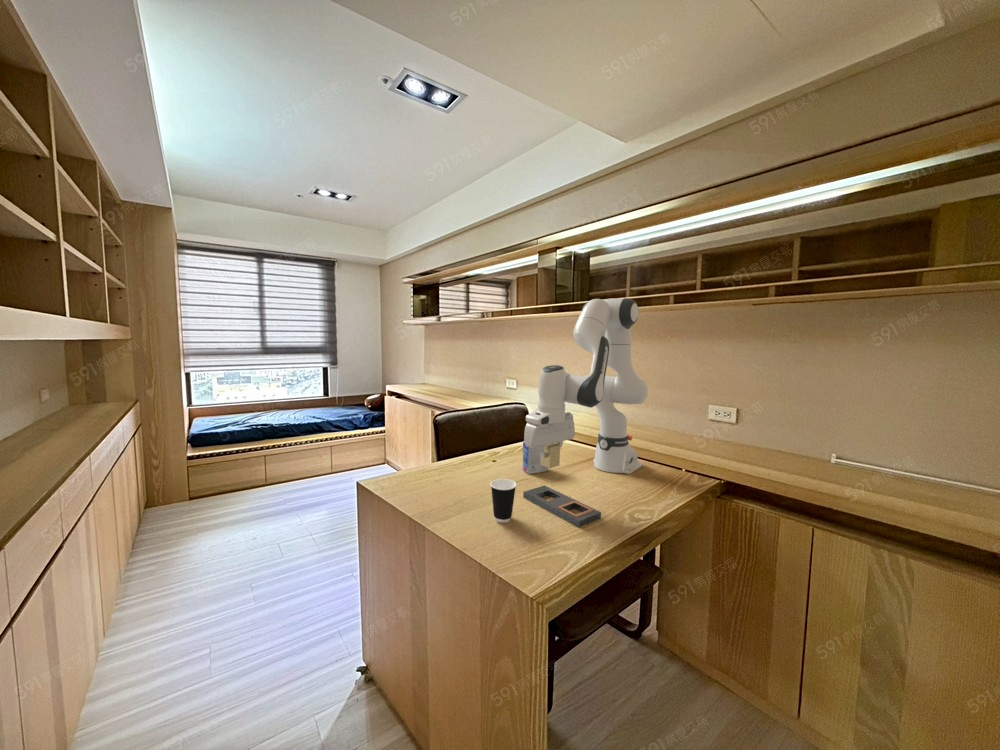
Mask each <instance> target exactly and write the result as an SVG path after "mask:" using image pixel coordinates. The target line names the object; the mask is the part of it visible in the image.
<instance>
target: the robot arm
mask: <svg viewBox="0 0 1000 750" xmlns="http://www.w3.org/2000/svg"><path fill="white" fill-rule="evenodd" d="M639 313H640V311H639V306H638V303H637V302H636V301H635V300H634V299H631V298H611V297H610V298H605V299H600V298H593V299H590V300H589V301H587V302H586V303H585V304H584V305H583V306H582V310H581V312H580V314H579V316H578V318H577V320H576V323H575V324H574V327H573V332H572V333H573V334H572V336H573V339H574V341H575V343H576V344H577V345H578V346H579V347H580V348H581V349H583V350H585V351H587V352H589V353H591V354H593V356H592V361H591V367H590V372H589V373H588V374H586V375H579V374H577V375H576V374H570V373H568V372H567V371H565V368H564V366H563V365H560V364H559V365H556V364H553V365H547V366H544V367H543V368H542V369H541V370H540V374H539V381H538V393H537V394H538V397H539V400H538V404H537V409H535V410H533V411H532V412H531V413H529V414H527V415H526V416H525V421H526V425H524V426H525V427H524V434H523V435H524V436H523V437H524V438H523V442H524V443H525V445H526V446H528V447H531V448H535V447H538V449H539V451H540V457H541V458H546V457H547V452H545V451H544V448H545V445H548V444H553V443H555V444H558V445H560V450H561V448H562V446H563V444H564V443H563V442H564V441H570V440H573V439H574V438H575V435H576V432H575V431H576V430H575V428H576V427H575V421H574V414H572V412H569V411H568V412H566V403H568V404H575V405H580V406H583V407H586V408H589V409H590V408H591V409H592V408H594V407H595V408H596V411H597V413H598V417H599V418H598V419H599V433H598V434H597V442H598V443H597V444H596V446H595V447H596V448H595V453H594V454H595V455H594V458H593V459H592V462H593V467H594V468H595V469H597V470H600V471H603V472H607V473H617V474H627V475H630V474H632V473H634V472H635V471H637V470H638V469H640V468H642V467H643V466H644V463H643V462H641V461H640V460H638V451H636V449H635V448H633V446H631V445H630V443H629V441H632V440H633V436H632V435H629V434H628V433H627V431H628V419H627V417H626V415H625V414H624V413H622V411H619V410H618V409H617V408H616V407H615V404H623V405H641V404H642V403H644V402H645V401H646V399H647V398H648V394H649V389H648V388H649V387H648V386H647V383H646V382H645V381H644V380H643V379H642V378H640V376H638V374H637V373H636V371H635V369H634V366H633V363H632V328H631V327H632V326H634V325H635V324H636V322H637V320H638V318H639ZM607 367H608V368H609V369H611V370H613V371H614V372H615V374H616V376H609V375H608V376H607V375H606V372H607Z"/></svg>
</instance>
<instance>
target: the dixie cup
mask: <svg viewBox="0 0 1000 750" xmlns="http://www.w3.org/2000/svg"><path fill="white" fill-rule="evenodd" d="M489 485H490V488H491V497H492V508H493V509H492V510H493V517H494V520H495V521H496V522H498V523H508V522H510V521H511V517H512V515H513V511H514V510H513V509H514V508H513V507H514V502H515V494H516V493H515V492H516V487H517V482H516V481H514V480H512V479H508V478H497V479H494V480H492V481H490V484H489Z"/></svg>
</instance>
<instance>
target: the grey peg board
mask: <svg viewBox="0 0 1000 750" xmlns="http://www.w3.org/2000/svg"><path fill="white" fill-rule="evenodd" d="M522 497H523V499H526V500H527V501H529V502H531V503H532V504H534V505H536V506H538V507H540V508H542V509H544V510H545V511H547V512H549V513H551V514H553V515H554V516H556V517H558V518H560V519H561V520H564V521H565V522H568V523H570V524H571V525H573V526H575V527H577V528H579V529H580V528H582V527H585V526H587V525H589V524H591V523H593V522H596V521H598V520H601V518H602V511H599V510H598V509H595V508H593V507H591V506H589V505H587V504H585V503H583V502H580V501H578V500H577V499H575V498H572V497H571V496H568V495H566V494H564V493H562V492H560V491H557V490H555V489H553V488H551V487H549V486H546V485H541V486H538V487H536V488H532V489H528V490H525V491H523V495H522ZM546 497H549V498H552V499H549V500H548V499H545V498H546ZM573 510H575V511H577V512H579V513H577V514H576V513H574V512H572V511H573Z"/></svg>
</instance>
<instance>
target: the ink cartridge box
mask: <svg viewBox="0 0 1000 750" xmlns="http://www.w3.org/2000/svg"><path fill="white" fill-rule="evenodd" d="M522 471H523V472H524V473H526V474H527V475H533V474H538V473H545V472H549V468H548V467H545V466H543V465H540V451H539V449H538V447H535V448H531V447H528V446H526V445H525V443H524V441H523V442H522Z"/></svg>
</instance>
